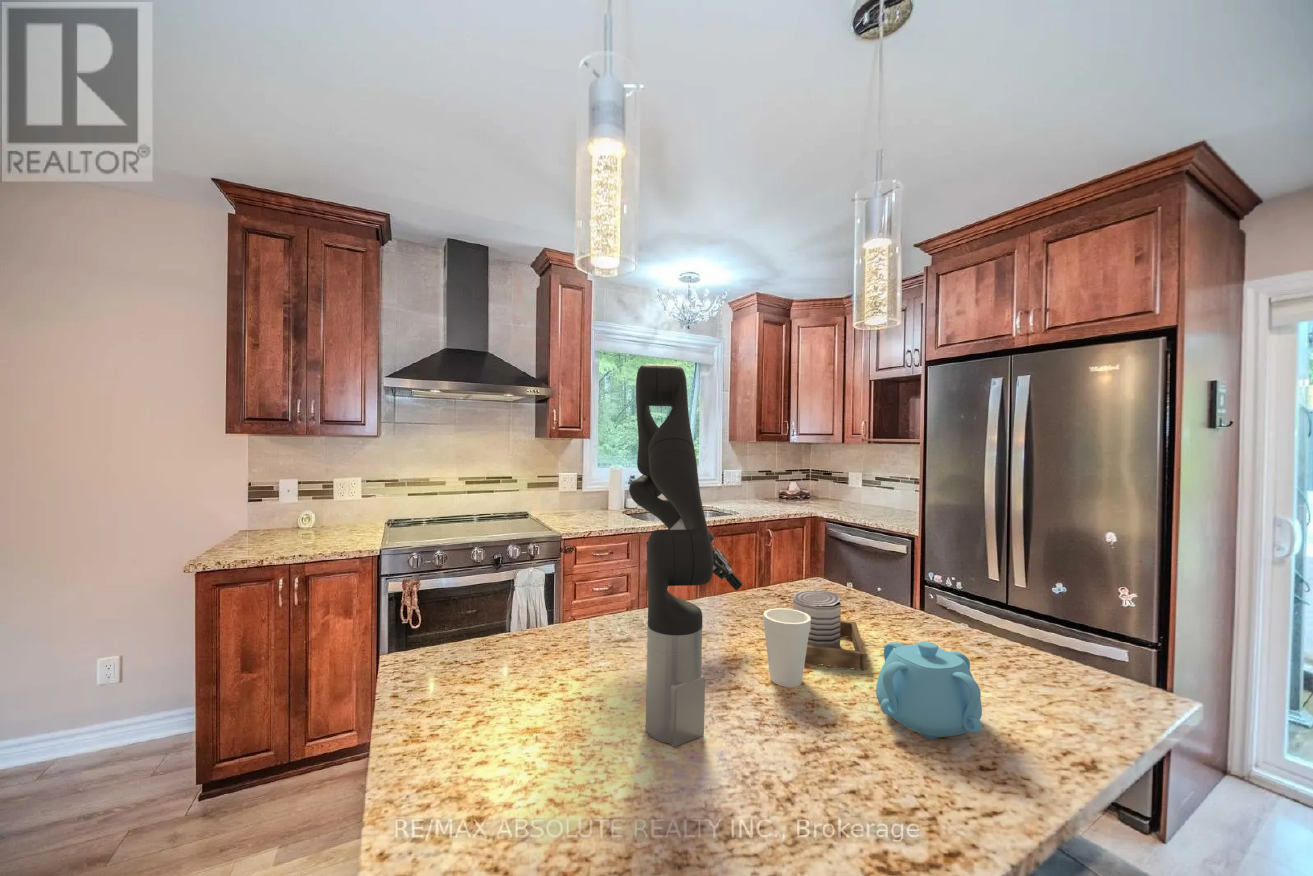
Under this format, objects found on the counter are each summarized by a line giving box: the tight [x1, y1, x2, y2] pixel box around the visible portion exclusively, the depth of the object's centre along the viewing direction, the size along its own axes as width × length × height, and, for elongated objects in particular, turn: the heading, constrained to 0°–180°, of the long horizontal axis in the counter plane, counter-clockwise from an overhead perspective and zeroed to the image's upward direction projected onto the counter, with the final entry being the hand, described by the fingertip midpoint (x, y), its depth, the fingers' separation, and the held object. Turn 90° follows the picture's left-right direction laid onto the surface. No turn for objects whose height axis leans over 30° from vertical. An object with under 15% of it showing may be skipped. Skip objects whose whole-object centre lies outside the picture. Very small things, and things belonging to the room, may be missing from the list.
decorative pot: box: [875, 640, 983, 740], centre depth 89 cm, size 16×16×14 cm
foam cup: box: [762, 607, 811, 688], centre depth 104 cm, size 10×9×13 cm
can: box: [790, 589, 844, 649], centre depth 122 cm, size 11×11×12 cm
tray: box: [805, 620, 867, 671], centre depth 121 cm, size 20×20×4 cm
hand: (739, 587), depth 125 cm, fingers closed
